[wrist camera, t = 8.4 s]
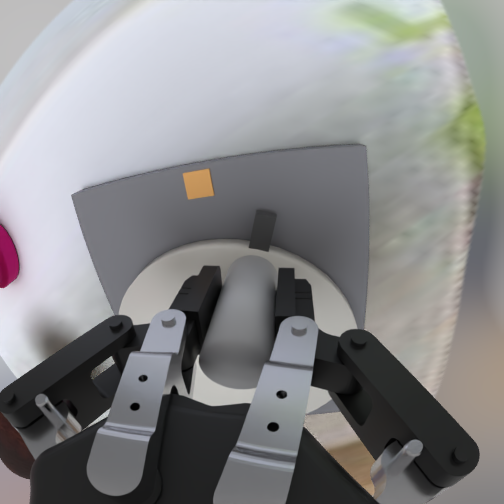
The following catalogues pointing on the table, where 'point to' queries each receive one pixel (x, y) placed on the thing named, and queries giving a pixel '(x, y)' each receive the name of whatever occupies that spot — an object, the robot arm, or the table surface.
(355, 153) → the dial base
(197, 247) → the cam dial
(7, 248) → the pepper mill
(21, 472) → the decorative mushroom
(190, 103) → the table surface
